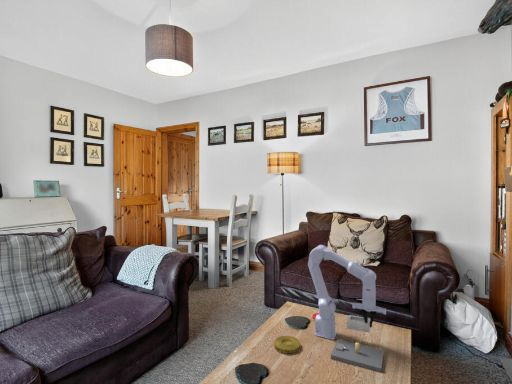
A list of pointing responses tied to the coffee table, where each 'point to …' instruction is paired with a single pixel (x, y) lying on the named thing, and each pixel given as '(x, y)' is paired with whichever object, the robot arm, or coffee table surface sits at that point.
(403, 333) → the coffee table surface
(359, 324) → the steel link
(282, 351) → the olive flat disc
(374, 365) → the board
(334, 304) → the robot arm
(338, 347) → the chain anchor
